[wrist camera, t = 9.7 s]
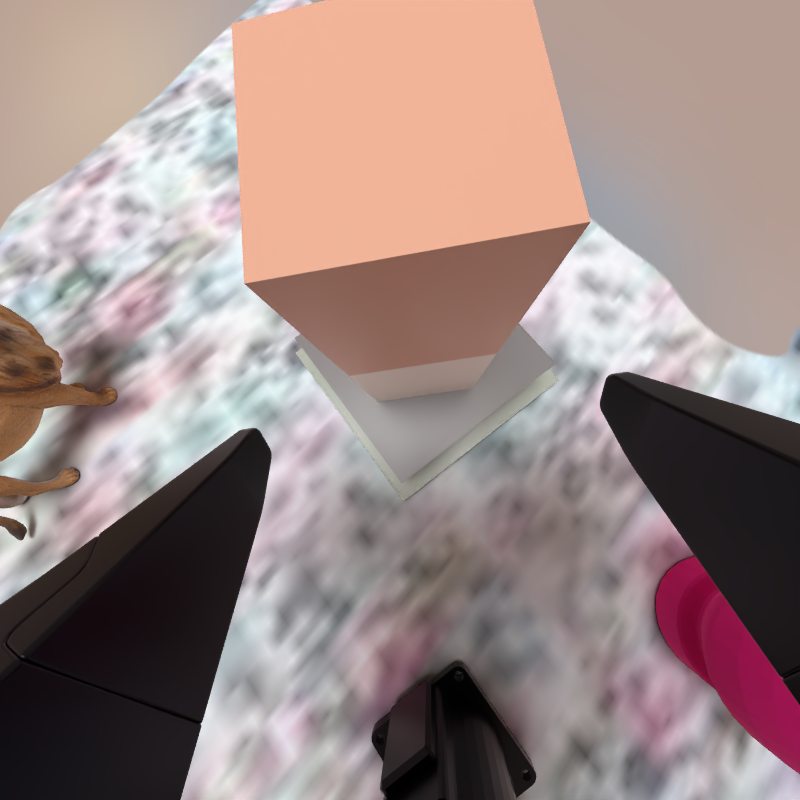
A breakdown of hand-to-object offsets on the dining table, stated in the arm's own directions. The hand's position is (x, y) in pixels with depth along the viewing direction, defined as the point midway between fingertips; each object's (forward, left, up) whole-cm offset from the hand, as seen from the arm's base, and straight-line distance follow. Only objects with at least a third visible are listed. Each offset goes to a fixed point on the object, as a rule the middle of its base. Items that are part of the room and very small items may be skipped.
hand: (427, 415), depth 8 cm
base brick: (+4, -2, -12) cm, 13 cm away
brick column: (+4, -2, -8) cm, 9 cm away
